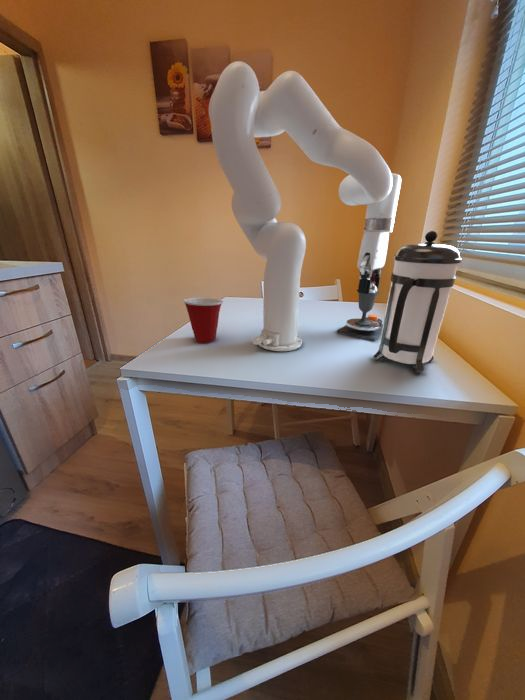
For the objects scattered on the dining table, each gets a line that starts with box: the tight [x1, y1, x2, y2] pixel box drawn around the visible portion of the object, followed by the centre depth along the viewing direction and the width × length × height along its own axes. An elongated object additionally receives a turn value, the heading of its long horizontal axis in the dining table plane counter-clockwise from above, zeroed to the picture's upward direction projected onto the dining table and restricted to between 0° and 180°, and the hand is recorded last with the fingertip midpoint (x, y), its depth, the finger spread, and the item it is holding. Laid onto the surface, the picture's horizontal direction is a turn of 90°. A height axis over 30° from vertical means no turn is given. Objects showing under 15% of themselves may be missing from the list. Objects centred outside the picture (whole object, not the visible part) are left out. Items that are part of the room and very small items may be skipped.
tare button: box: [367, 314, 379, 321], centre depth 94 cm, size 3×3×2 cm
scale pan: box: [345, 318, 380, 331], centre depth 88 cm, size 10×10×1 cm
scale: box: [336, 316, 383, 342], centre depth 91 cm, size 16×12×2 cm
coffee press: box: [372, 230, 462, 374], centre depth 63 cm, size 17×16×30 cm
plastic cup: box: [183, 297, 224, 344], centre depth 79 cm, size 11×11×12 cm
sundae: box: [355, 274, 381, 325], centre depth 85 cm, size 7×7×15 cm
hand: (368, 290), depth 84 cm, fingers closed on sundae, 6 cm apart
